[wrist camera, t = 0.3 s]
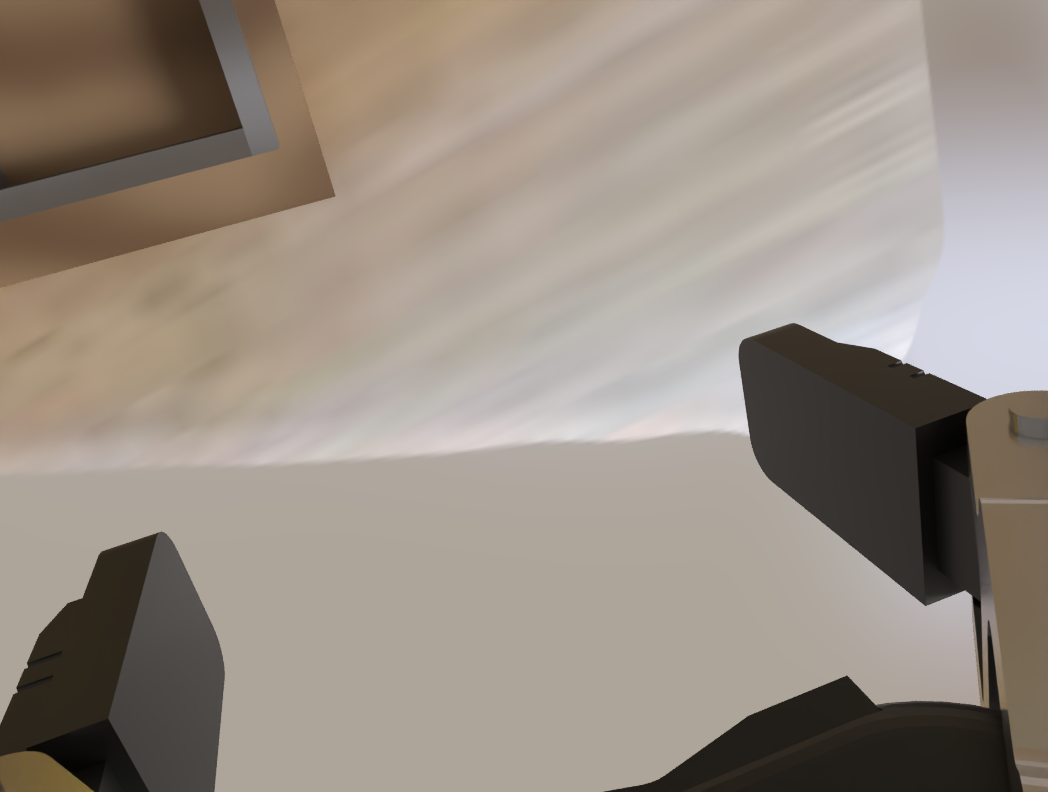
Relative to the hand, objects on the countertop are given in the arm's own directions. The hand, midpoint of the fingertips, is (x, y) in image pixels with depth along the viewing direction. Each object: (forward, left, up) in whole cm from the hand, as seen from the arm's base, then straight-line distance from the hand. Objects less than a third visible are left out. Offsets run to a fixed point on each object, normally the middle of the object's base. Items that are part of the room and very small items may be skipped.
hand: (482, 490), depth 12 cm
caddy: (-9, -7, -28) cm, 30 cm away
